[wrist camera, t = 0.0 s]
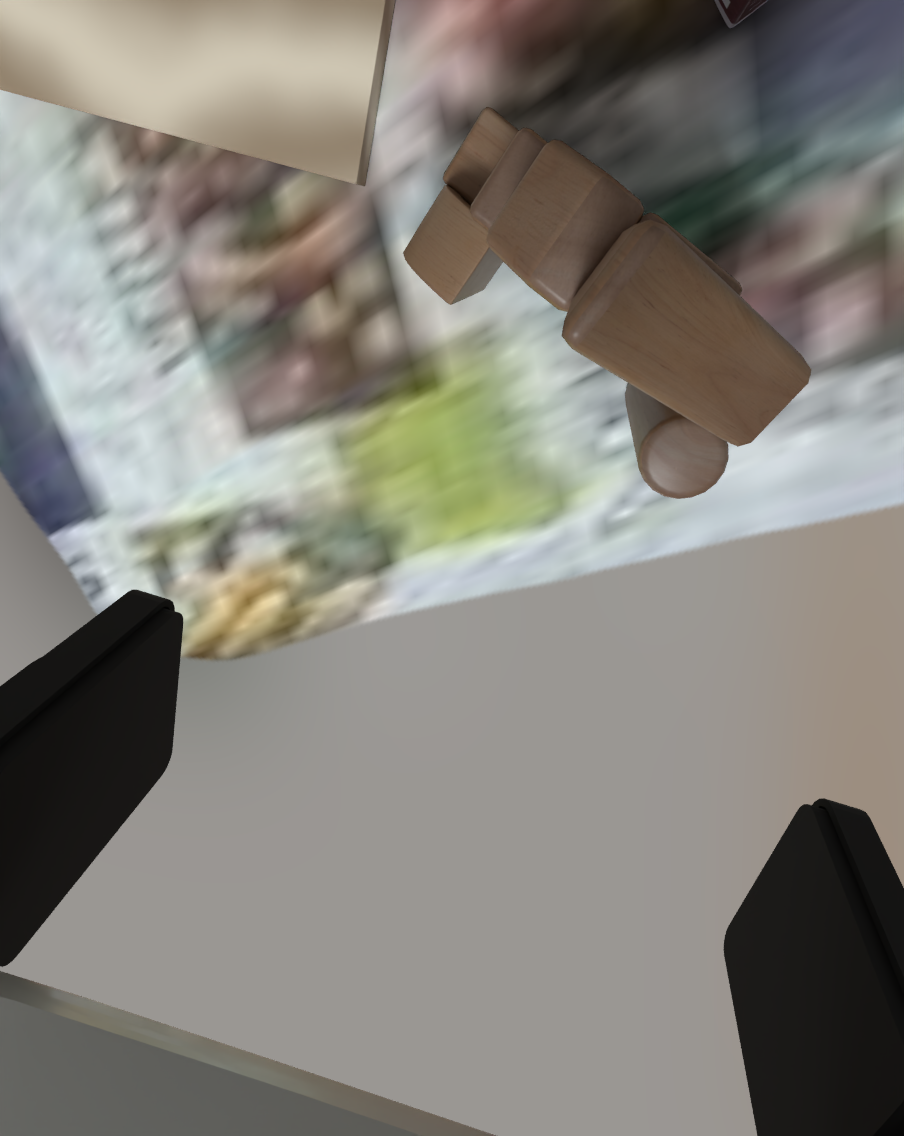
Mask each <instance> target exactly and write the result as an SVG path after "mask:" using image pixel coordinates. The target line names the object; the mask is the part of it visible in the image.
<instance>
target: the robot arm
mask: <svg viewBox="0 0 904 1136" xmlns="http://www.w3.org/2000/svg"><path fill="white" fill-rule="evenodd" d="M182 631H183V616H182V614H180V613H178V612H175V607H174V604H173V602H172V601H171V600H169V599H165V598H162V597H159V596H156V595H152V594H149V593H146V592H142V591H139V590H131V591H129V592H127V593H126V594H125V595H123V596H122V597H121V598H120V599H118V600H117V601H116V602H114V603H113V604H112V605H110V606H109V607H108V608H106V609H105V610H104V611H102V612H101V613H100V614H98V615H97V616H96V617H95V618H93V619H92V620H91V621H89V622H88V623H87V624H85V625H84V626H83V627H81V628H80V629H79V630H77V631H76V632H75V633H73V634H72V635H71V636H69V637H68V638H67V639H66V640H64V641H63V642H62V643H60V644H59V645H58V646H56V647H55V648H54V649H52V650H51V651H50V652H48V653H47V654H46V655H44V656H43V657H41V658H39V659H37V660H36V661H34V662H32V663H31V664H29V665H28V666H27V667H25V668H24V669H23V670H21V671H20V672H19V673H17V674H16V675H15V676H13V677H12V678H11V679H10V680H8V681H7V682H6V683H4V684H3V685H1V686H0V966H2V967H3V966H6V965H8V964H9V963H10V962H11V961H13V960H14V958H15V957H16V956H17V955H18V954H19V953H20V951H21V950H22V949H23V948H24V946H25V945H26V944H27V943H28V941H29V940H30V939H31V938H32V937H33V935H34V934H35V933H36V931H37V930H38V929H39V928H40V927H41V925H42V924H43V923H44V922H45V920H46V919H47V918H48V917H49V915H50V914H51V913H52V911H53V910H54V909H55V908H56V907H57V905H58V904H59V903H60V902H61V900H62V899H63V898H64V896H65V895H66V894H67V893H68V891H69V890H70V889H71V888H72V887H73V885H74V884H75V883H76V882H77V880H78V879H79V878H80V877H81V876H82V874H83V873H84V872H85V871H86V869H87V868H88V867H89V866H90V864H91V863H92V862H93V861H94V859H95V858H96V856H97V855H98V854H99V853H100V852H101V850H102V849H103V848H104V847H105V846H106V844H107V843H108V842H109V840H110V839H111V838H112V837H113V836H114V834H115V833H116V832H117V831H118V829H119V828H120V827H121V826H122V824H123V823H124V822H125V821H126V819H127V818H128V817H129V816H130V814H131V813H132V812H133V811H134V810H135V808H136V807H137V806H138V805H139V803H140V802H141V801H142V800H143V798H144V797H145V796H146V794H147V793H148V792H149V791H150V790H151V788H152V787H153V786H154V785H155V783H156V782H157V781H158V779H159V778H160V777H161V776H162V774H163V773H164V771H165V770H166V768H167V766H168V763H169V761H170V758H171V755H172V747H173V736H174V724H175V712H176V701H177V690H178V678H179V677H178V676H179V666H180V655H181V643H182ZM724 957H725V962H726V967H727V972H728V978H729V984H730V989H731V994H732V1000H733V1005H734V1011H735V1016H736V1021H737V1027H738V1033H739V1038H740V1043H741V1048H742V1054H743V1059H744V1065H745V1070H746V1076H747V1081H748V1087H749V1092H750V1098H751V1103H752V1108H753V1114H754V1119H755V1125H756V1130H757V1136H904V888H903V886H902V884H901V882H900V879H899V877H898V875H897V873H896V871H895V869H894V867H893V865H892V863H891V861H890V859H889V857H888V854H887V852H886V850H885V848H884V846H883V844H882V842H881V840H880V838H879V836H878V834H877V832H876V830H875V828H874V825H873V823H872V821H871V819H870V817H869V816H868V815H867V813H866V812H864V811H862V810H860V809H857V808H854V807H850V806H847V805H844V804H840V803H837V802H834V801H830V800H827V799H818V800H817V801H815V802H814V803H813V805H808V804H804V805H802V806H801V807H800V808H799V809H798V811H797V812H796V814H795V816H794V817H793V819H792V821H791V822H790V824H789V826H788V828H787V829H786V831H785V833H784V834H783V836H782V837H781V839H780V841H779V843H778V844H777V846H776V848H775V849H774V851H773V853H772V854H771V856H770V858H769V860H768V861H767V863H766V864H765V866H764V868H763V869H762V871H761V873H760V875H759V876H758V878H757V879H756V881H755V883H754V885H753V886H752V888H751V889H750V891H749V893H748V894H747V896H746V898H745V899H744V902H743V903H742V905H741V906H740V908H739V909H738V912H737V913H736V915H735V916H734V918H733V920H732V921H731V923H730V925H729V927H728V929H727V931H726V935H725V940H724ZM0 1136H496V1135H493V1134H490V1133H487V1132H484V1131H481V1130H478V1129H475V1128H472V1127H469V1126H466V1125H463V1124H460V1123H458V1122H454V1121H452V1120H449V1119H446V1118H443V1117H440V1116H437V1115H434V1114H431V1113H428V1112H425V1111H422V1110H419V1109H416V1108H413V1107H410V1106H407V1105H405V1104H402V1103H399V1102H396V1101H392V1100H390V1099H387V1098H384V1097H381V1096H378V1095H375V1094H372V1093H369V1092H366V1091H363V1090H360V1089H357V1088H354V1087H351V1086H348V1085H345V1084H342V1083H339V1082H336V1081H334V1080H331V1079H328V1078H325V1077H322V1076H319V1075H315V1074H313V1073H310V1072H306V1071H304V1070H301V1069H298V1068H295V1067H292V1066H289V1065H286V1064H283V1063H280V1062H277V1061H274V1060H271V1059H268V1058H265V1057H262V1056H259V1055H256V1054H253V1053H250V1052H247V1051H244V1050H241V1049H238V1048H235V1047H232V1046H229V1045H226V1044H223V1043H220V1042H217V1041H214V1040H211V1039H208V1038H205V1037H202V1036H199V1035H196V1034H193V1033H190V1032H187V1031H184V1030H181V1029H178V1028H175V1027H172V1026H169V1025H166V1024H163V1023H160V1022H157V1021H154V1020H151V1019H148V1018H145V1017H142V1016H139V1015H136V1014H133V1013H130V1012H127V1011H124V1010H121V1009H118V1008H115V1007H111V1006H109V1005H106V1004H103V1003H100V1002H97V1001H94V1000H91V999H88V998H85V997H82V996H78V995H75V994H72V993H69V992H65V991H62V990H59V989H56V988H52V987H49V986H46V985H43V984H39V983H37V982H33V981H30V980H27V979H23V978H20V977H17V976H14V975H11V974H8V973H4V972H1V971H0Z"/></svg>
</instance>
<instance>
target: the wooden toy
mask: <svg viewBox="0 0 904 1136" xmlns="http://www.w3.org/2000/svg"><path fill="white" fill-rule="evenodd" d="M443 180H444V182H445V183H446V184H447V185H445V186H444V187H443V189H442V190H441V192H440V194H439V195H438V197H437V198H436V200H435V202H434V203H433V205H432V206H431V208H430V210H429V211H428V213H427V214H426V216H425V217H424V219H423V221H422V222H421V224H420V226H419V227H418V229H417V231H416V232H415V234H414V236H413V237H412V239H411V241H410V242H409V244H408V246H407V247H406V249H405V251H404V252H403V254H404V257H405V260H406V261H407V263H408V264H409V265H410V267H411V268H412V269H413V270H414V271H415V273H416V274H417V275H418V276H419V277H420V278H421V279H422V280H423V281H424V282H425V283H426V284H427V285H428V286H429V287H430V288H431V289H432V290H433V291H434V292H436V293H437V294H438V295H439V296H440V297H441V298H442V299H443V300H445V301H446V302H447V303H448V304H450V305H451V304H454V303H456V302H458V301H461V300H463V299H465V298H467V297H469V296H472V295H474V294H476V293H478V292H480V291H482V290H484V289H485V287H486V286H487V284H488V283H489V281H490V280H491V279H492V277H493V276H494V274H495V273H496V271H497V270H498V268H499V267H500V266H501V264H502V263H503V262H504V263H505V264H506V265H508V266H509V267H510V268H511V269H512V270H513V271H514V272H515V273H516V274H517V275H518V276H519V277H520V278H521V279H522V280H523V281H524V282H525V283H526V284H527V285H528V286H529V287H531V288H532V289H533V290H534V291H536V292H537V293H538V294H539V295H541V296H542V297H543V298H544V299H546V300H547V301H548V302H549V303H551V304H552V305H553V306H554V307H556V308H557V309H558V310H562V311H566V312H568V313H567V315H566V318H565V321H564V326H563V331H562V337H563V338H564V339H565V341H566V342H567V343H568V344H569V346H570V347H571V348H572V349H573V350H575V351H577V352H578V353H580V354H582V355H583V356H585V357H587V358H588V359H590V360H592V361H593V362H595V363H596V364H598V365H600V366H601V367H603V368H605V369H606V370H608V371H610V372H611V373H613V374H615V375H616V376H618V377H620V378H621V379H623V380H625V381H626V382H628V384H627V388H626V392H625V400H626V407H627V412H628V417H629V422H630V427H631V432H632V437H633V442H634V447H635V452H636V457H637V462H638V467H639V470H640V472H641V475H642V477H643V479H644V481H645V482H646V483H647V484H648V485H649V486H650V487H651V488H652V490H654V491H656V492H658V493H660V494H661V495H663V496H666V497H671V498H677V499H680V498H690V497H694V496H696V495H699V494H701V493H704V492H706V491H707V490H708V489H709V488H711V487H712V486H713V485H715V484H716V483H717V481H718V480H719V479H720V477H721V476H722V474H723V473H724V471H725V468H726V465H727V462H728V444H727V442H729V443H731V444H733V445H736V446H741V445H745V444H748V443H751V442H752V441H753V440H754V439H755V438H756V437H757V436H758V435H759V434H760V433H761V432H762V431H763V430H764V428H765V427H766V426H767V425H768V424H769V423H770V422H771V421H772V420H773V419H774V418H775V417H776V416H777V415H778V414H779V413H780V412H781V411H782V410H783V409H784V408H785V407H786V406H787V405H788V403H789V402H790V401H791V400H792V399H793V398H794V397H795V396H796V395H797V394H798V393H799V392H800V391H801V390H802V389H803V388H804V387H805V386H806V385H807V384H808V382H809V377H810V375H811V369H810V367H809V366H808V364H807V363H806V361H805V360H804V358H803V357H802V355H801V354H800V353H799V352H798V351H797V350H796V349H795V348H794V347H793V346H792V345H790V344H789V343H788V342H787V341H786V340H785V339H784V338H783V337H782V336H781V335H780V334H779V333H778V332H777V331H776V330H775V329H774V328H773V327H772V326H771V325H770V324H769V323H768V322H767V321H765V320H764V319H763V318H762V317H761V316H760V315H759V314H758V313H757V312H756V311H755V310H754V309H753V308H752V307H751V306H750V305H749V304H748V303H747V302H746V301H745V300H744V299H743V298H742V297H740V294H741V291H742V288H741V285H740V283H739V282H738V281H737V280H735V279H734V278H733V277H732V276H731V275H729V274H728V273H727V272H726V271H725V270H723V269H722V268H721V267H720V266H719V265H717V264H716V263H715V262H714V261H712V260H711V259H710V258H709V257H708V256H706V255H705V254H704V253H703V252H702V251H700V250H699V249H698V248H697V247H696V246H694V245H693V244H692V243H691V242H690V241H688V240H687V239H686V238H685V237H684V236H682V235H681V234H680V233H679V232H677V231H676V230H675V229H674V228H673V227H671V226H670V225H669V224H668V223H667V222H665V221H664V220H663V219H662V218H661V217H659V216H658V215H657V214H653V213H648V214H646V215H644V216H642V215H643V212H644V208H643V206H642V204H641V201H640V200H639V199H638V198H637V197H636V196H635V195H633V194H632V193H631V192H630V191H628V190H627V189H626V188H625V187H624V186H622V185H621V184H620V183H619V182H618V181H616V180H615V179H614V178H613V177H612V176H610V175H609V174H608V173H606V172H605V171H604V170H602V169H601V168H599V167H598V166H596V165H595V164H594V163H592V162H591V161H589V160H588V159H587V158H585V157H584V156H582V155H581V154H579V153H578V152H577V151H575V150H574V149H572V148H571V147H569V146H568V145H567V144H565V143H564V142H562V141H560V140H552V141H550V142H549V143H547V142H546V141H545V140H544V139H542V138H541V137H540V136H539V135H538V134H536V133H535V132H534V131H533V130H532V129H528V128H523V129H521V130H520V131H519V130H517V129H516V128H515V127H514V126H513V125H511V124H510V123H509V122H508V121H507V120H505V119H504V118H503V117H502V116H500V115H499V114H498V113H497V112H496V111H494V110H493V109H492V108H489V107H486V108H485V109H484V110H483V111H482V112H481V114H480V116H479V117H478V119H477V120H476V122H475V124H474V125H473V127H472V129H471V130H470V132H469V134H468V135H467V137H466V138H465V140H464V142H463V143H462V145H461V147H460V148H459V150H458V152H457V153H456V155H455V157H454V158H453V160H452V161H451V163H450V165H449V166H448V168H447V170H446V171H445V173H444V176H443Z"/></svg>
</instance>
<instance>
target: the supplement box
mask: <svg viewBox="0 0 904 1136" xmlns="http://www.w3.org/2000/svg"><path fill="white" fill-rule="evenodd" d="M714 1H715V3H716V5H717V7H718V9H719V11H720V13H721V15H722V17H723V19H724V21H725V22H726V24H727V26H728V27H729V28H733V27H735V26H736V25H737V24H739V23H740V22H741V21H743V20H744V19H745V18H746V17H748V16H749V15H750V14H752V13H753V12H754V11H755V10H757V9H758V8H759V7H760V6H762V5H763V4H764V3H765V2H767V1H768V0H714Z"/></svg>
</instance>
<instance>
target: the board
mask: <svg viewBox="0 0 904 1136" xmlns="http://www.w3.org/2000/svg"><path fill="white" fill-rule="evenodd" d="M394 5H395V0H0V90H4V91H7V92H11V93H15V94H19V95H23V96H26V97H30V98H34V99H38V100H41V101H45V102H49V103H53V104H56V105H60V106H64V107H68V108H71V109H75V110H79V111H83V112H86V113H90V114H94V115H98V116H102V117H105V118H109V119H113V120H117V121H120V122H124V123H128V124H132V125H135V126H139V127H143V128H147V129H150V130H154V131H158V132H162V133H166V134H169V135H173V136H177V137H181V138H184V139H188V140H192V141H196V142H199V143H203V144H207V145H211V146H214V147H218V148H222V149H226V150H230V151H233V152H237V153H241V154H245V155H248V156H252V157H256V158H260V159H263V160H267V161H271V162H275V163H278V164H282V165H286V166H290V167H294V168H297V169H301V170H305V171H309V172H312V173H316V174H320V175H324V176H327V177H331V178H335V179H339V180H342V181H346V182H350V183H354V184H358V185H362V186H365V182H366V176H367V170H368V164H369V158H370V152H371V146H372V139H373V133H374V127H375V121H376V115H377V109H378V103H379V97H380V91H381V84H382V78H383V72H384V66H385V60H386V54H387V48H388V42H389V36H390V30H391V23H392V17H393V11H394Z"/></svg>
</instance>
